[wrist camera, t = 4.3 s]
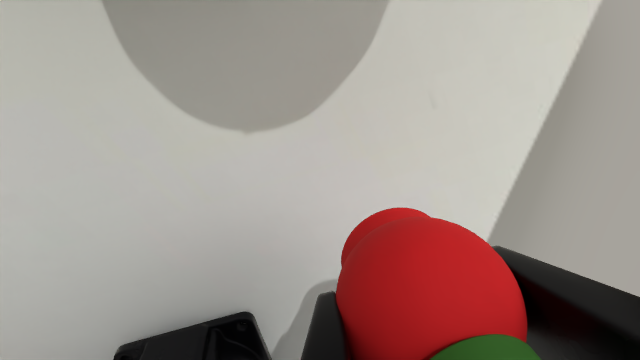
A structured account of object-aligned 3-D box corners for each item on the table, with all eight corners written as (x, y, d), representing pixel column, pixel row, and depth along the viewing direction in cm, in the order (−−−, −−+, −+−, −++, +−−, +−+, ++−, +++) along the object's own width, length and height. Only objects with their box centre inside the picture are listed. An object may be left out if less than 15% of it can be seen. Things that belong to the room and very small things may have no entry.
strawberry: (458, 286, 10) (585, 445, 6) (337, 320, 10) (384, 509, 6) (454, 173, 8) (626, 286, 4) (308, 211, 8) (347, 367, 4)
